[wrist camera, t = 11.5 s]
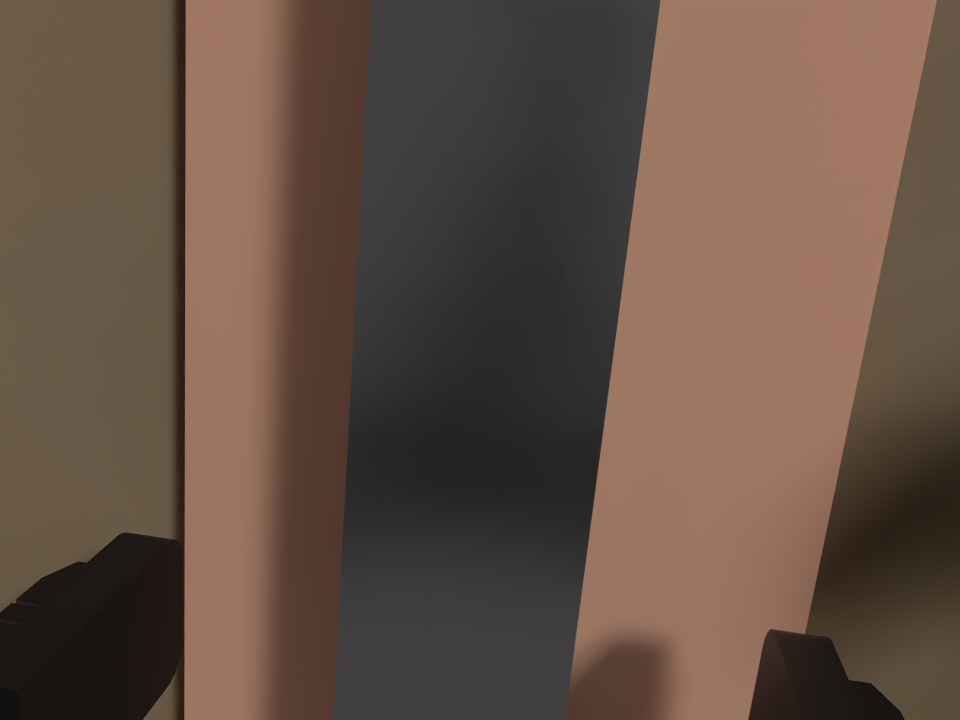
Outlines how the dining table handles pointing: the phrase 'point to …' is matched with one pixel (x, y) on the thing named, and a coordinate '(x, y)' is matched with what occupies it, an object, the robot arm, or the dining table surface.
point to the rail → (483, 346)
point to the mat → (637, 353)
